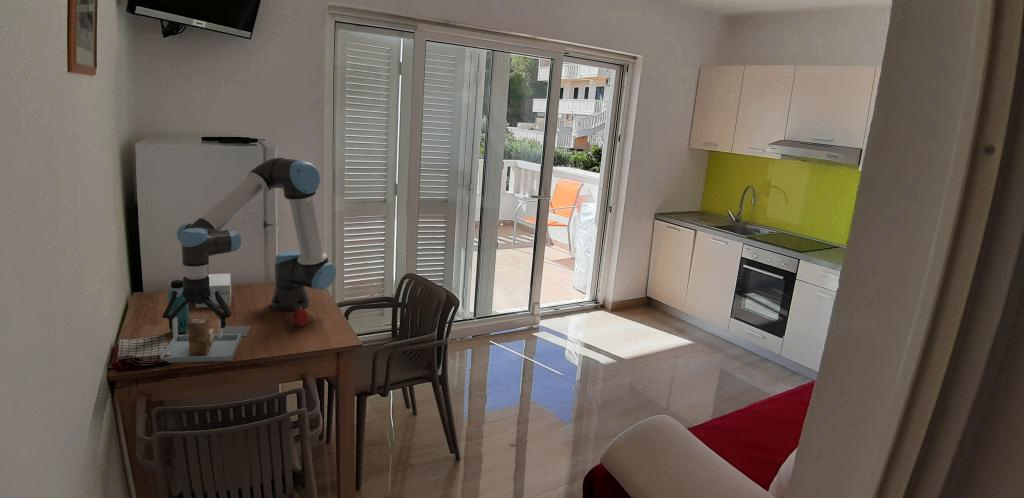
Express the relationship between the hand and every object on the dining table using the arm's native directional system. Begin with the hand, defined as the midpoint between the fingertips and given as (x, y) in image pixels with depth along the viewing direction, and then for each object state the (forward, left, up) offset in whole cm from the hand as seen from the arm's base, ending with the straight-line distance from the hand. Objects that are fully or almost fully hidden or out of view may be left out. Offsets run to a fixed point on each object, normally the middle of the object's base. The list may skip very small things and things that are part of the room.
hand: (198, 337), depth 198 cm
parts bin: (0, -4, -7) cm, 8 cm away
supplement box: (+7, -57, -7) cm, 58 cm away
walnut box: (0, 0, -6) cm, 6 cm away
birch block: (0, -8, -6) cm, 10 cm away
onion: (-30, -25, -7) cm, 40 cm away
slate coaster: (-7, -20, -7) cm, 22 cm away
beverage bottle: (+11, -20, -7) cm, 24 cm away
